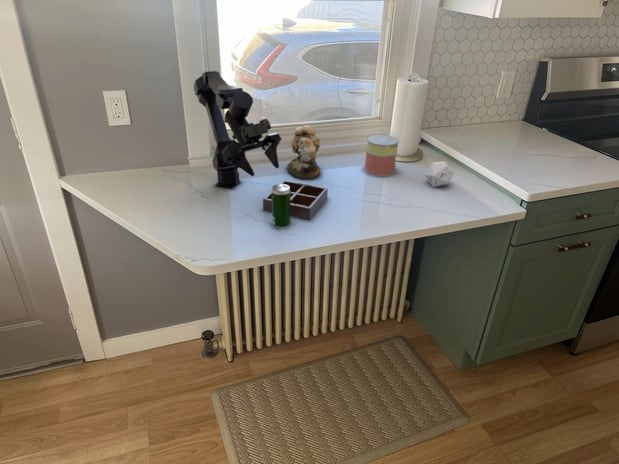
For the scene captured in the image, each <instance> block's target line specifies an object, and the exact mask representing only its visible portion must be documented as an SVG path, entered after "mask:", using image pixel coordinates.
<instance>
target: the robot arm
mask: <svg viewBox="0 0 619 464" xmlns="http://www.w3.org/2000/svg"><path fill="white" fill-rule="evenodd" d="M194 91H195V93H194V95H195V96H196V98H197V100H198V103H199V104H201V105H202V106H203V107H205V110H206V113H207V116H208V120H209V123H210V126H211V130H212V132H213V136H214V140H215V143H216V147H215V150H214V156H213V158H212V167H213V168H214V169H215V171H216V172H217V183H215V186H216V187H219V188H226V189H231V190H233V189H234V188H235V187H237V186H238V185H239V184H240V183H242V182H241V180H240V172H239V169H241V170H242V171H244V172H245V173H246V174H248V175H249V176H250V177H254V176H255V175H256V174H255V172H254V170H253V167H252V166H251V163H250V162H249V161H248V159H247V157H246V156H247V155H246V152H250V151H253V150H258V149H262V150H263V151H264V152H263V153H264V155H265V156H266V158H267V159H268V160H269V162H270V163H271V164H272V165H273V167H274V168H275V169H279V168H280V164H279V158H278V151H277V150H278V149H277V148H278V146H279V144H280V142H282V137H281V136H280V134H279V133H278V132H273V133H269V130H271V129H272V125H271V123H270V121H269V120H268V118H263V119H261V120H259V122H258V123H253V122H250V121H249V119H248V118H247V117H248V116H249V114H250V111H251V109H252V106H253V104H254V98H253V97H252V95H251V94H250V93H249V92H247V91H244V89H243V87H237V86H234V85H230V84H228V83H227V82H226V81H225V79H224V78H223V77H222V76H221V74H220V72H219V71H217V70H208V71H204V72H202V73H201V76H199V77H197V79H195V81H194V83H193V92H194ZM222 110H226V112H225V113H224V116H223V113H222ZM226 124H227V125H228V127H229V128H230V130H231V132H232V134H233V135H232V136H231V137H232V139H231V138H230V135H229V132H228V129H227V125H226ZM268 133H269V134H268ZM264 134H266V135H265V137H264V138H263V135H264ZM262 138H263V139H262ZM260 139H261V140H260Z"/></svg>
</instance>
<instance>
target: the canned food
mask: <svg viewBox="0 0 619 464" xmlns="http://www.w3.org/2000/svg"><path fill="white" fill-rule="evenodd" d="M399 141H400V140H399V139H398V138H397V137H395V136H393V135H388V134H372V135H369V136H368V137H367V138H366V149H365V150H366V151H365V161H364V162H365V163H364V171H365V173H367V174H368V175H371V176H374V177H390V176H393V175H394V174H395V173H396V163H397V154H398V147H399Z"/></svg>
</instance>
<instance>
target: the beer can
mask: <svg viewBox="0 0 619 464" xmlns="http://www.w3.org/2000/svg"><path fill="white" fill-rule="evenodd" d="M271 191H272V212H271V224H272V226H273V227H274V228H276V229H280V230H281V229H282V230H283V229H287V228H289V226H290V224H291V216H290V187H289V186H288V185H285V184H280V183H277V184H274V185H273V186H272V187H271Z"/></svg>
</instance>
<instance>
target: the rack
mask: <svg viewBox="0 0 619 464" xmlns="http://www.w3.org/2000/svg"><path fill="white" fill-rule="evenodd" d="M279 184H285V185H288V186H289V187H290V218H297V219H301V220H305V221H311V220H312V219H313V218H314V216H315V215H316V214H317V213H318V212H319V210H320V209H321V208H322V207H323V206H324V204H325V203H326V201H327V200H328V193H329V192H328V191H329V190H328V189H329V188H328V187H324V186H318V185H313V184H308V183H303V182H297V181H292V180H286V179H283V180H282V181H281V182H280V183H279ZM262 211H263V212H267V213H272V190H271V191H270V192H269V193H268V194H266V196H264V197H263V198H262Z"/></svg>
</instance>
